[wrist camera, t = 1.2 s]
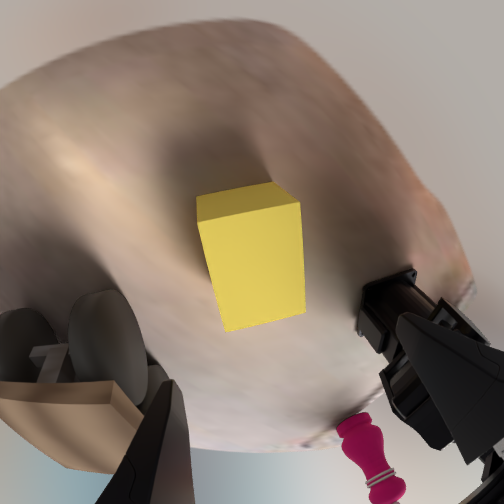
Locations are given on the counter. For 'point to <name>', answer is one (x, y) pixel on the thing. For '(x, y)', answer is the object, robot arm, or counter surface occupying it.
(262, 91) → the counter surface
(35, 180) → the counter surface
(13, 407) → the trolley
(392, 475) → the pepper mill
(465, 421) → the robot arm
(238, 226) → the block
